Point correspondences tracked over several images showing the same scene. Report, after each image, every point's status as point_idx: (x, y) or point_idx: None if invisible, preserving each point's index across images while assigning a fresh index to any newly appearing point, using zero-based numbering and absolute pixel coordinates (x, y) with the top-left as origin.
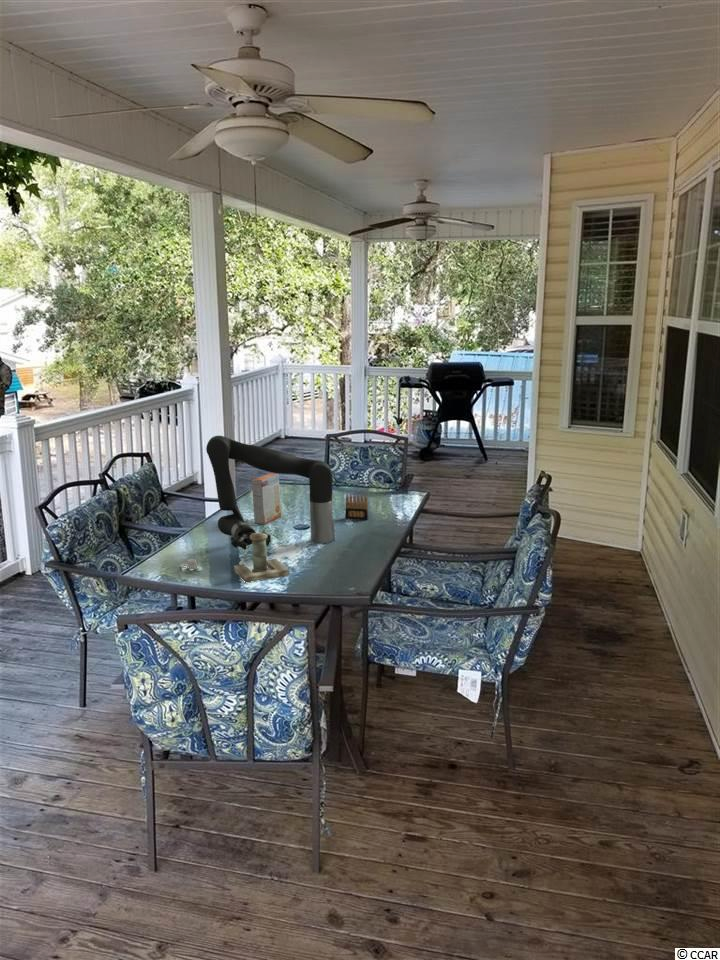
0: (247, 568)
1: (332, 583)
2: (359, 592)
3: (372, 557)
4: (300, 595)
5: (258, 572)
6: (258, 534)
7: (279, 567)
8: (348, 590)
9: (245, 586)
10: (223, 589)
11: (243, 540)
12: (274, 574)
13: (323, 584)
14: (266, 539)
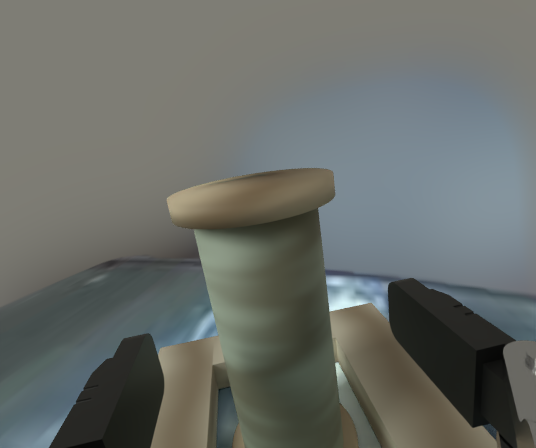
0: (383, 407)
1: (103, 300)
2: (103, 267)
3: None
4: None
5: None
6: (240, 191)
7: (181, 383)
8: (111, 273)
9: (367, 303)
10: (452, 291)
11: (514, 425)
12: None
13: (128, 297)
14: (120, 360)
